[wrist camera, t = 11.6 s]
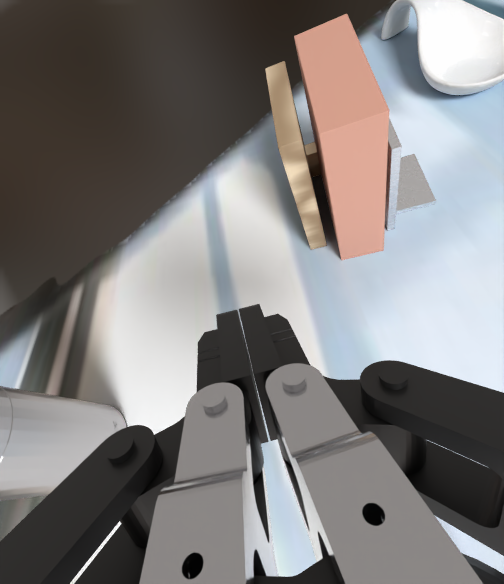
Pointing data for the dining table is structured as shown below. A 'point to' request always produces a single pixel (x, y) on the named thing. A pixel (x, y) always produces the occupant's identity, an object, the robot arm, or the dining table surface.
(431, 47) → the spoon rest
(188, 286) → the dining table surface
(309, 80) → the book
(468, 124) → the dining table surface
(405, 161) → the bookend
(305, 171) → the board
